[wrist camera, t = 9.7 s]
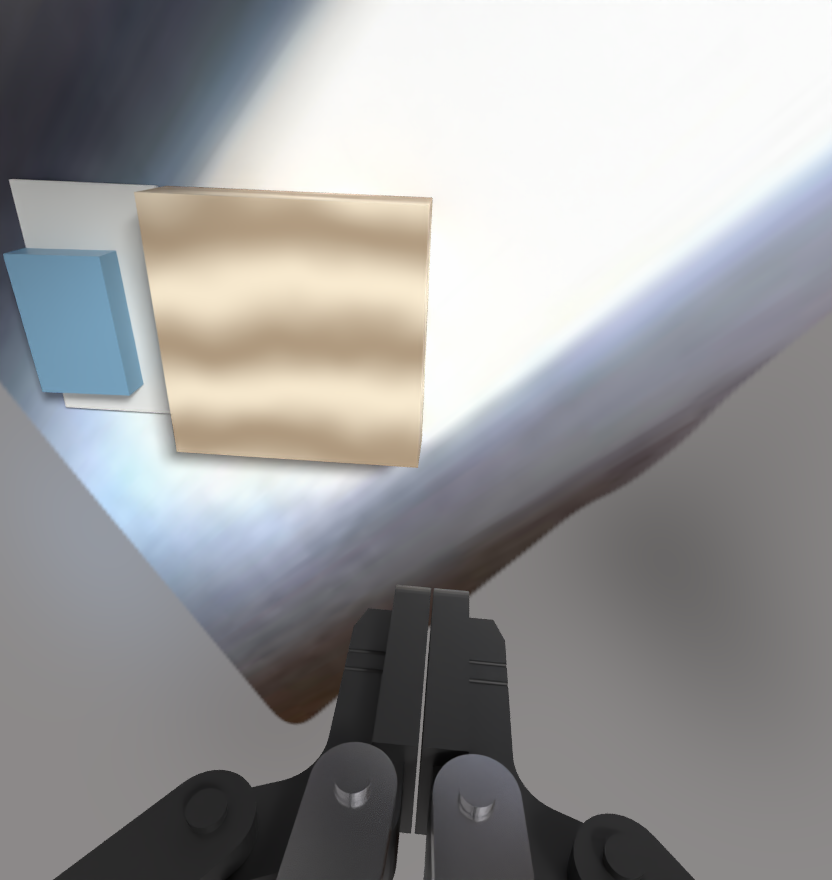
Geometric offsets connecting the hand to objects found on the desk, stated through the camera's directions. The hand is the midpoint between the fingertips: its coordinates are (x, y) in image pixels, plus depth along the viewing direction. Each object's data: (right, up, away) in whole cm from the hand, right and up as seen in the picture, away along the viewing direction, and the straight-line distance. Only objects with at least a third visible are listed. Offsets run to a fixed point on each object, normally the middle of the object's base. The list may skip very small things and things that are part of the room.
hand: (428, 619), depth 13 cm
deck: (-8, +11, +27) cm, 30 cm away
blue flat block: (-22, +11, +26) cm, 36 cm away
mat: (-21, +13, +28) cm, 37 cm away
